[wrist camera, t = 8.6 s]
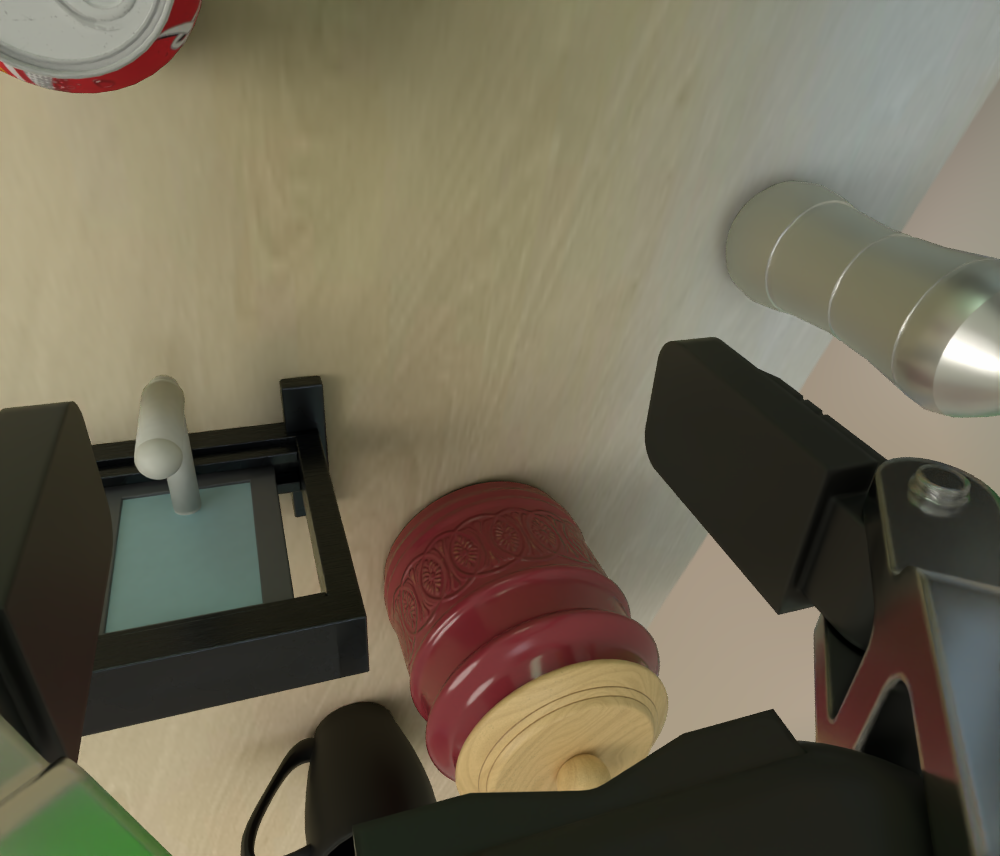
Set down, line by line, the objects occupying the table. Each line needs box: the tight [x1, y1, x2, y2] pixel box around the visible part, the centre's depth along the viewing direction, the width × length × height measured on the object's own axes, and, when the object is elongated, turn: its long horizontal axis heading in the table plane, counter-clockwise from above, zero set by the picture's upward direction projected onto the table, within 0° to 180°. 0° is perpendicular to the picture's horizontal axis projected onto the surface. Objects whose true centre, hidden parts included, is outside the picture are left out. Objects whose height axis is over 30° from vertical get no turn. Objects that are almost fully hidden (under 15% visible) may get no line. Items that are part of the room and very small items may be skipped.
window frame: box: [82, 376, 369, 736], centre depth 31 cm, size 19×8×14 cm, turn 87°
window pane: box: [99, 375, 294, 635], centre depth 30 cm, size 8×7×11 cm
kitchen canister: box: [384, 481, 668, 795], centre depth 41 cm, size 13×13×18 cm
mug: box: [241, 703, 436, 856], centre depth 48 cm, size 8×12×10 cm
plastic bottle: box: [726, 181, 1000, 418], centre depth 34 cm, size 6×7×20 cm
